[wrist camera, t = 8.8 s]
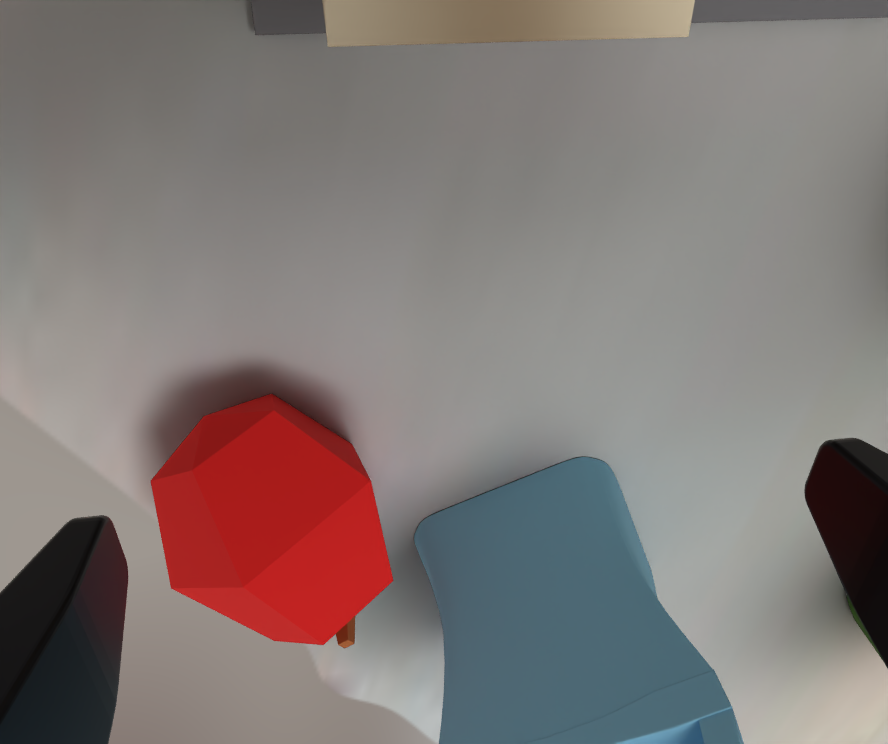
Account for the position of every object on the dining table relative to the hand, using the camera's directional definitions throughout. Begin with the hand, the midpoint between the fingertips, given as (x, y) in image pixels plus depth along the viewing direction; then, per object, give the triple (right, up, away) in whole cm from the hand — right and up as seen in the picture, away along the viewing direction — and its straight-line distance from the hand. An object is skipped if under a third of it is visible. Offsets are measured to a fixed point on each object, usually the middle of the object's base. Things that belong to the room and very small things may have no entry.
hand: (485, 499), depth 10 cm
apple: (-6, -1, +16) cm, 17 cm away
